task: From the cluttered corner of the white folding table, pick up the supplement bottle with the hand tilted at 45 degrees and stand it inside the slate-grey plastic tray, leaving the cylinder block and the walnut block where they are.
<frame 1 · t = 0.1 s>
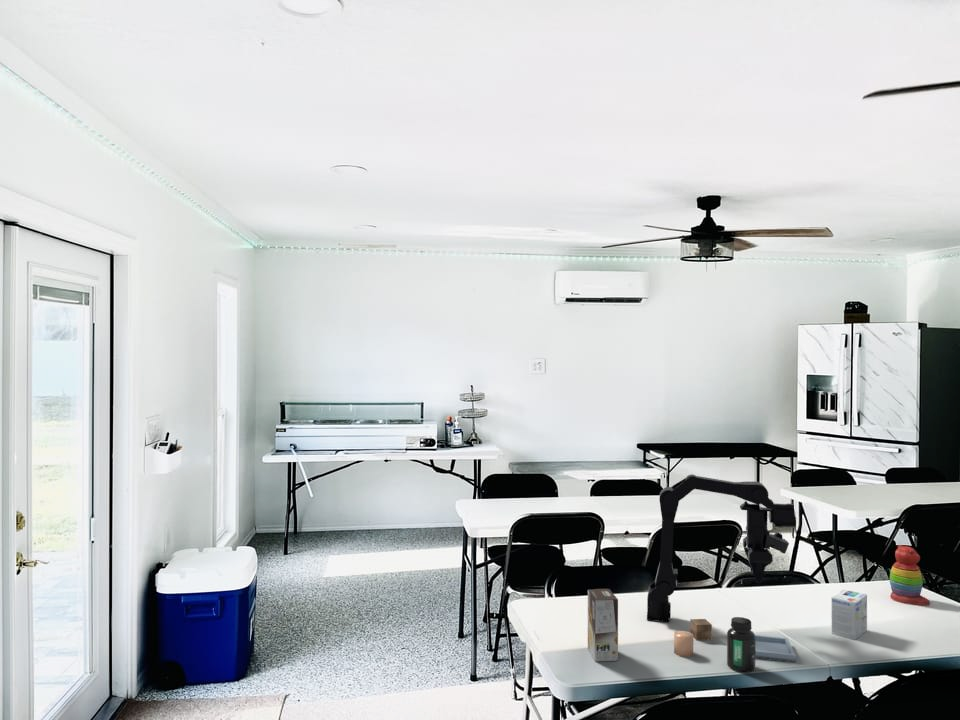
hand: (757, 578, 203), 15 cm above the table, tool pointing down, fingers open, 9 cm apart
light bulb box: (849, 633, 200), on the table
tray: (767, 650, 186), on the table
supplement bottle: (741, 667, 176), on the table
stacking bear: (907, 600, 229), on the table
coffee box: (602, 655, 183), on the table
walnut block: (700, 637, 196), on the table
cylinder block: (683, 653, 185), on the table
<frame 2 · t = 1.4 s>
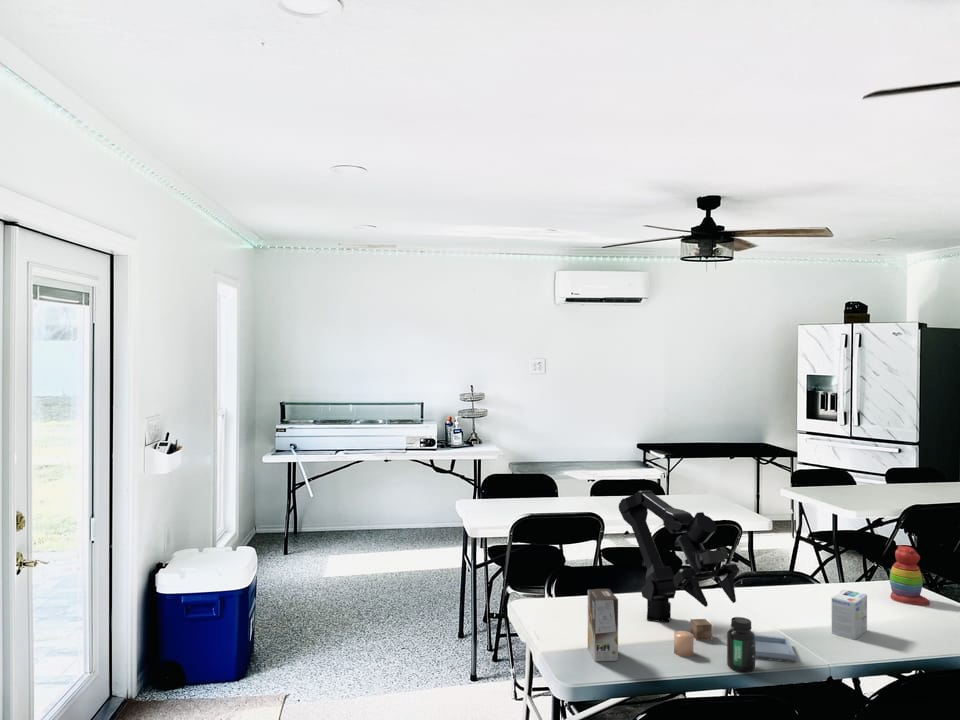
hand: (720, 604, 184), 13 cm above the table, tool tilted 45°, fingers open, 9 cm apart
nothing on the table moved.
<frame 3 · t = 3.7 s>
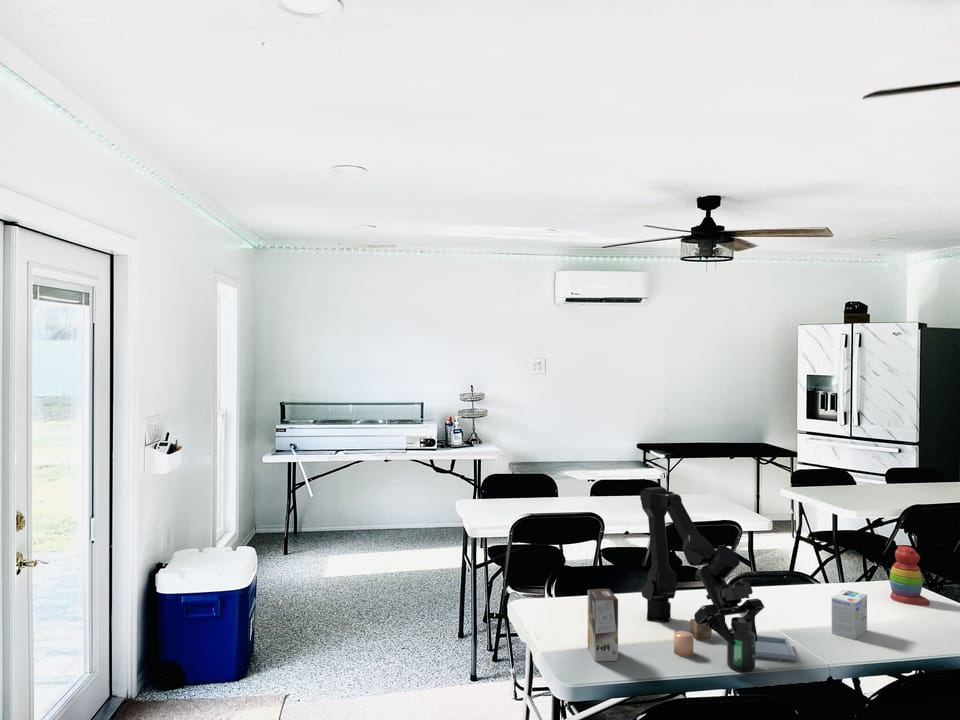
hand: (745, 643, 175), 7 cm above the table, tool tilted 45°, fingers closed on supplement bottle, 7 cm apart
supplement bottle: (741, 667, 176), on the table, touching gripper
everything else where it was.
when the fingers open (8 cm above the table, at t = 7.5 s): supplement bottle stays where it is, resting on tray.
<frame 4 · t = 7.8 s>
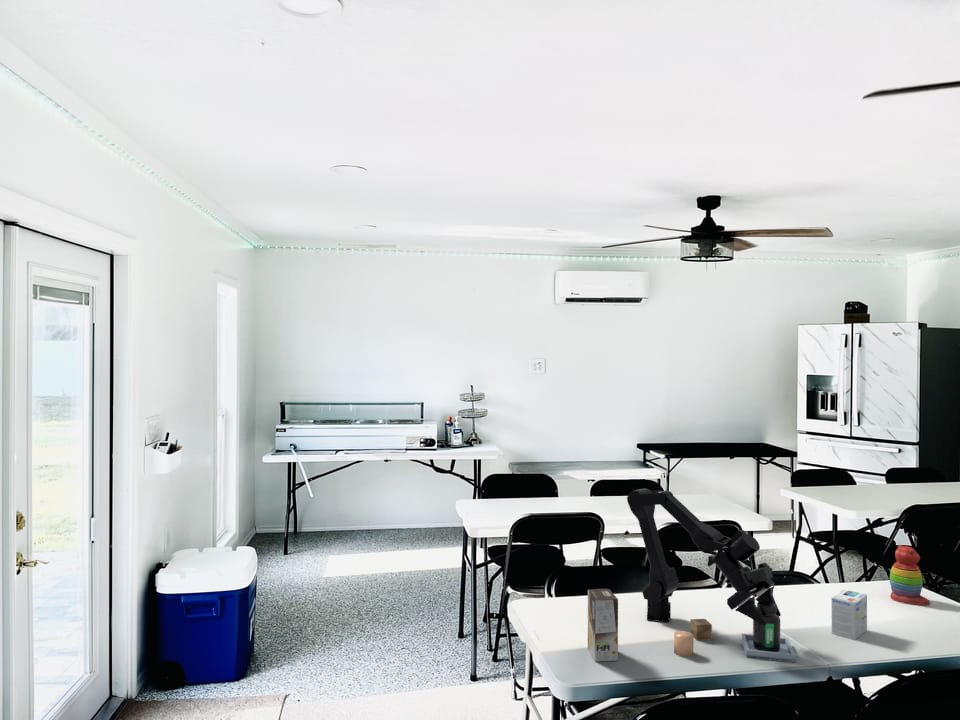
hand: (772, 620, 186), 9 cm above the table, tool tilted 45°, fingers open, 9 cm apart
supplement bottle: (766, 649, 187), resting on tray
everything else where it was.
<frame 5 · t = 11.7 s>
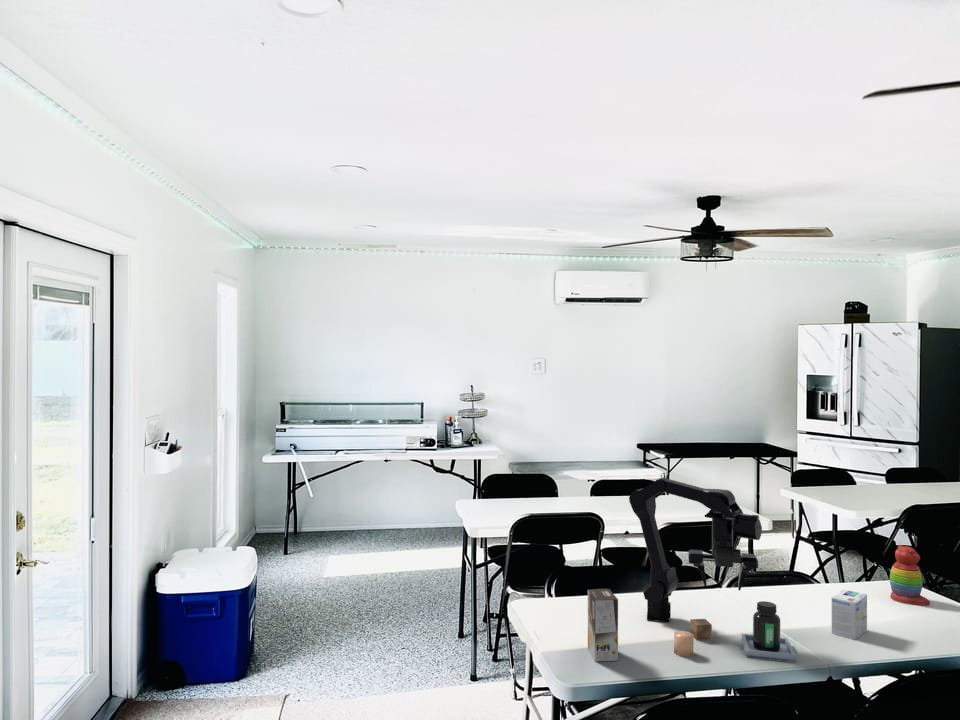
hand: (722, 588, 198), 13 cm above the table, tool pointing down, fingers open, 9 cm apart
nothing on the table moved.
at the end: supplement bottle inside the target area on the tray (0.2 cm from its centre), point 0.4 cm above the tray's base; supplement bottle tilted 0°; the gripper is holding nothing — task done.
